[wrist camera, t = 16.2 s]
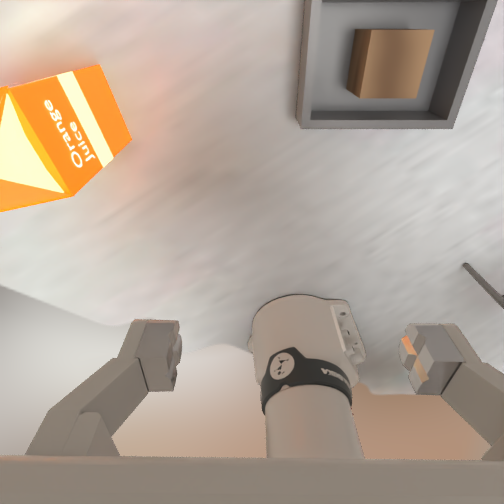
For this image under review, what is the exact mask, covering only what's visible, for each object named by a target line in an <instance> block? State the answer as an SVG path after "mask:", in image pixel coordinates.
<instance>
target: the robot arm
mask: <svg viewBox="0 0 504 504" xmlns="http://www.w3.org/2000/svg"><path fill="white" fill-rule="evenodd" d="M179 328H180V327H179V322H178V321H176V320H151V319H149V320H146V319H135V320H134V321H133V322H132V323H131V325H130V328H129V330H128V333H127V335H126V338H125V340H124V342H123V345H122V347H121V350H120V352H119V354H118V357H117V358H113V359H111V360H110V361H108V362H107V363H106V364H105V365H104V366H102V367H101V368H100V369H99V370H98V371H96V372H95V373H94V374H93V375H91V376H90V377H89V378H88V379H87V380H85V381H84V382H83V383H82V384H80V385H79V386H78V387H77V388H75V389H74V390H73V391H72V392H71V393H69V394H68V395H67V396H66V397H64V398H63V399H62V400H61V401H60V402H59V403H57V404H56V405H55V406H53V407H52V408H51V409H50V410H49V411H48V413H47V414H46V416H45V418H44V420H43V422H42V424H41V426H40V428H39V429H38V431H37V433H36V435H35V437H34V439H33V440H32V442H31V444H30V446H29V448H28V450H27V452H26V453H25V455H0V504H504V374H503V373H501V372H500V371H498V370H497V369H495V368H494V367H492V366H491V365H489V364H488V363H482V361H481V360H480V358H479V357H478V355H477V354H476V353H475V351H474V350H473V348H472V347H471V345H470V344H469V342H468V341H467V340H466V338H465V337H464V335H463V334H462V332H461V331H460V329H459V328H458V327H457V326H456V325H455V324H437V323H410V324H409V325H407V327H406V329H405V332H406V334H407V335H406V336H405V337H404V338H402V339H401V341H400V344H399V356H400V360H401V362H402V364H403V366H404V367H406V368H407V369H408V370H409V371H410V372H409V375H408V378H409V380H410V382H411V385H412V387H413V389H414V391H415V393H416V394H421V395H441V397H442V398H443V399H444V400H445V401H446V402H447V403H448V404H449V405H450V406H451V407H452V408H453V409H454V410H455V411H456V412H457V413H458V414H459V415H460V416H461V417H462V418H463V419H464V420H465V421H466V422H468V424H469V425H471V427H473V428H474V429H475V430H476V431H477V432H478V433H479V434H480V435H481V436H482V437H483V438H484V439H485V440H486V441H487V442H488V443H489V444H490V445H491V447H490V448H489V449H488V450H487V451H486V452H485V453H484V455H483V456H482V458H481V459H482V460H407V459H406V460H405V459H365V457H364V453H363V450H362V446H361V443H360V440H359V436H358V433H357V429H356V426H355V422H354V419H353V413H352V411H351V409H352V408H351V406H352V390H351V389H352V388H353V387H354V386H355V385H356V384H357V383H358V381H359V379H360V377H359V373H358V369H357V365H359V364H360V363H363V362H364V359H365V358H366V352H365V348H364V346H363V343H362V340H361V338H360V335H359V332H358V330H357V327H356V324H355V322H354V319H353V316H352V313H351V311H350V308H349V305H348V303H347V302H346V301H343V300H324V299H320V298H317V297H313V296H307V295H292V296H286V297H282V298H279V299H276V300H274V301H271V302H270V303H268V304H266V305H265V306H264V307H262V308H261V309H260V310H259V311H258V313H257V314H256V315H255V317H254V320H253V323H252V336H251V337H250V339H249V341H248V350H249V351H250V352H252V353H253V357H254V366H255V376H256V382H257V384H258V385H260V386H261V395H260V398H261V404H262V411H263V413H264V415H265V425H266V453H267V458H228V457H227V458H226V457H221V458H220V457H136V456H120V454H119V452H118V450H117V448H116V446H115V444H114V442H113V440H112V438H111V436H112V435H113V434H114V433H115V432H116V431H117V429H118V428H119V427H120V426H121V425H122V424H123V422H124V421H125V420H126V419H127V418H128V416H129V415H130V414H131V413H132V412H133V411H134V409H135V408H136V407H137V406H138V405H139V404H140V403H141V401H142V400H143V399H144V398H145V397H146V395H147V394H148V392H151V391H152V392H159V391H173V390H174V386H175V382H176V377H177V370H176V366H177V365H178V364H179V363H180V359H181V352H182V339H181V336H180V335H179V334H178V332H179Z"/></svg>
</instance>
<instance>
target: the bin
mask: <svg viewBox="0 0 504 504" xmlns="http://www.w3.org/2000/svg"><path fill="white" fill-rule="evenodd" d="M497 1H498V0H305V2H304V15H303V28H302V41H301V55H300V68H299V81H298V94H297V107H296V119H297V121H298V124H299V126H300V128H301V129H453V126H454V123H455V120H456V118H457V115H458V112H459V109H460V106H461V103H462V101H463V98H464V95H465V92H466V89H467V86H468V83H469V81H470V78H471V75H472V72H473V69H474V66H475V64H476V61H477V58H478V55H479V52H480V49H481V46H482V44H483V41H484V38H485V35H486V32H487V29H488V27H489V24H490V21H491V18H492V15H493V12H494V9H495V7H496V4H497ZM355 29H427V30H435V31H434V34H433V38H432V42H431V45H430V49H429V53H428V56H427V60H426V64H425V67H424V71H423V75H422V78H421V82H420V86H419V89H418V93H417V97H416V98H358V97H357V96H355V95H354V94H352V93H351V92H350V91H348V90H347V89H346V86H347V80H348V73H349V67H350V60H351V54H352V47H353V41H354V34H355Z"/></svg>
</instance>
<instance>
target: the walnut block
mask: <svg viewBox="0 0 504 504" xmlns="http://www.w3.org/2000/svg"><path fill="white" fill-rule="evenodd" d="M434 31H435V30H427V29H355V34H354V41H353V47H352V54H351V60H350V67H349V73H348V80H347V86H346V89H347V90H348V91H350V92H351V93H352V94H354V95H355V96H357V97H358V98H416V97H417V93H418V89H419V86H420V82H421V78H422V75H423V71H424V67H425V64H426V60H427V56H428V53H429V49H430V45H431V42H432V38H433V34H434Z"/></svg>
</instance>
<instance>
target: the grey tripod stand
mask: <svg viewBox="0 0 504 504" xmlns="http://www.w3.org/2000/svg"><path fill="white" fill-rule="evenodd" d="M463 266H464V268H465V269H466V270H467V271H468V272H469V273H470V274H471V275H472V277H473V278H474V279H475V280H476V281H477V282H478V283H479V284H480V285H481V286H482V287H483V288H484V289H485V291H486V292H487V293H488V294H489V295H490V296H491V297H492V298H493V299H494V300H495V301H496V302H497V303H498V304H499V305H500V306H501V307H502V308H503V309H504V295H503V296H501V295H500V294H499V293H498V292H497V291H496V290H495V289H494V288H493V287H492V286H490V285H489V284H488V283H487V282H486V281H485V280H484V279H483V278H482V277H481V276H480V275H479V274H478V273H477V272H476V271H475V270H474V269H473V268H472V267H471V266H470V265H469V264H468V263H465V264H464V265H463Z"/></svg>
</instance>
